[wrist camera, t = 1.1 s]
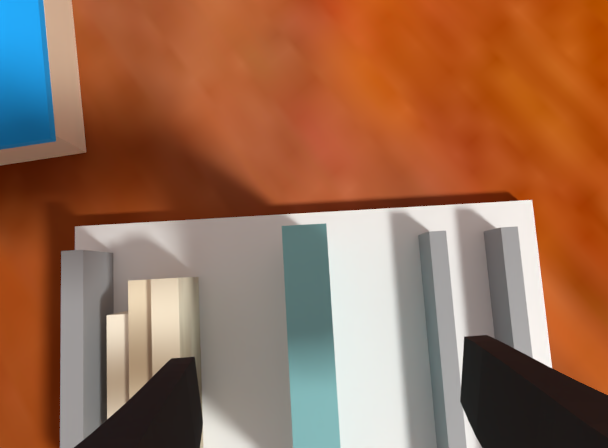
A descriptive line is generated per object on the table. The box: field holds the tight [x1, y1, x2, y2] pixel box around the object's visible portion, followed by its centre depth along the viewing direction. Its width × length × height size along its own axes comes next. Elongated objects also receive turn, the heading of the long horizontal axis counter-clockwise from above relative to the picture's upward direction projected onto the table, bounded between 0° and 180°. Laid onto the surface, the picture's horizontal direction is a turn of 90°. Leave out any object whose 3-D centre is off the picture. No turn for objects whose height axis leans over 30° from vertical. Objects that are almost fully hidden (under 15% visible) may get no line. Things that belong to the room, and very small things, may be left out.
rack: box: [60, 200, 552, 448], centre depth 21 cm, size 15×24×4 cm, turn 93°
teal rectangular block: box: [282, 223, 341, 448], centre depth 18 cm, size 12×2×8 cm, turn 3°
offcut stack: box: [107, 277, 203, 448], centre depth 20 cm, size 9×4×4 cm, turn 3°
